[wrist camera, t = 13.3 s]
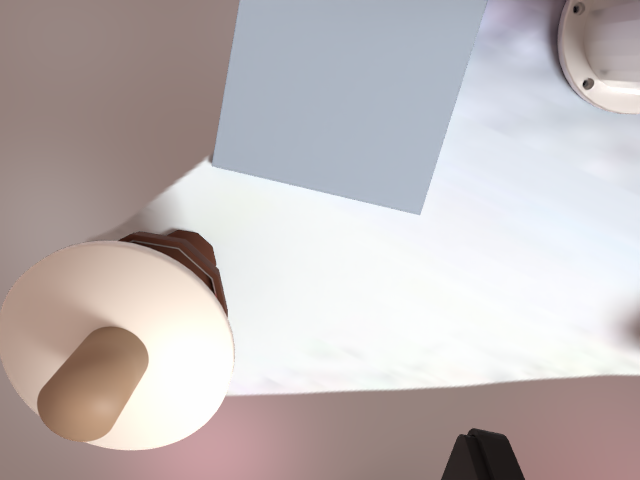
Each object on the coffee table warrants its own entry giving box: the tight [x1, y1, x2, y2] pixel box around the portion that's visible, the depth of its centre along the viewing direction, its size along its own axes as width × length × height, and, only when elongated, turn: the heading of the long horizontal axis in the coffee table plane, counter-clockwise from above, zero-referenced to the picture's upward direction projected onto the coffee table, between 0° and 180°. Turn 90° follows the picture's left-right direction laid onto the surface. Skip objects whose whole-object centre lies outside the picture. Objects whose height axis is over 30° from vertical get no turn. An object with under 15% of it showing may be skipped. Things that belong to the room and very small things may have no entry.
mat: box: [212, 0, 488, 215], centre depth 40 cm, size 18×18×1 cm
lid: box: [0, 240, 235, 450], centre depth 29 cm, size 14×14×6 cm
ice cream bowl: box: [118, 230, 228, 318], centre depth 39 cm, size 11×11×15 cm
